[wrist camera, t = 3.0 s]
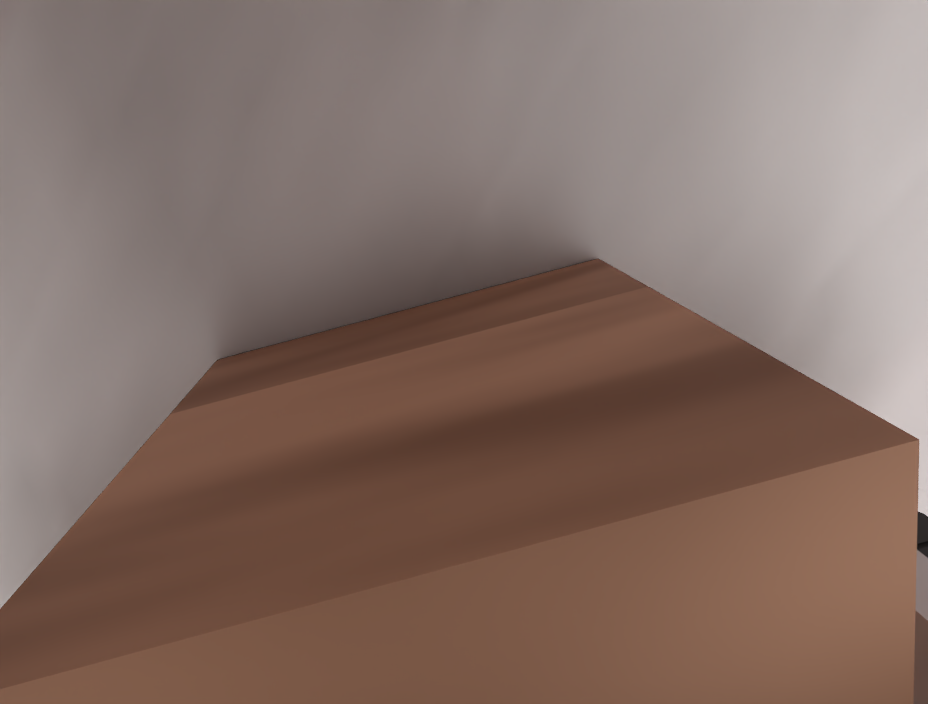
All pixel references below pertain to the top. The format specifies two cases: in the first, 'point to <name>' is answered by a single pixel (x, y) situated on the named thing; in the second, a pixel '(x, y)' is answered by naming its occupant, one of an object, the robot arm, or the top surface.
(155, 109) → the top surface
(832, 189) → the top surface
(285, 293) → the top surface
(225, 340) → the top surface
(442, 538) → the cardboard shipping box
